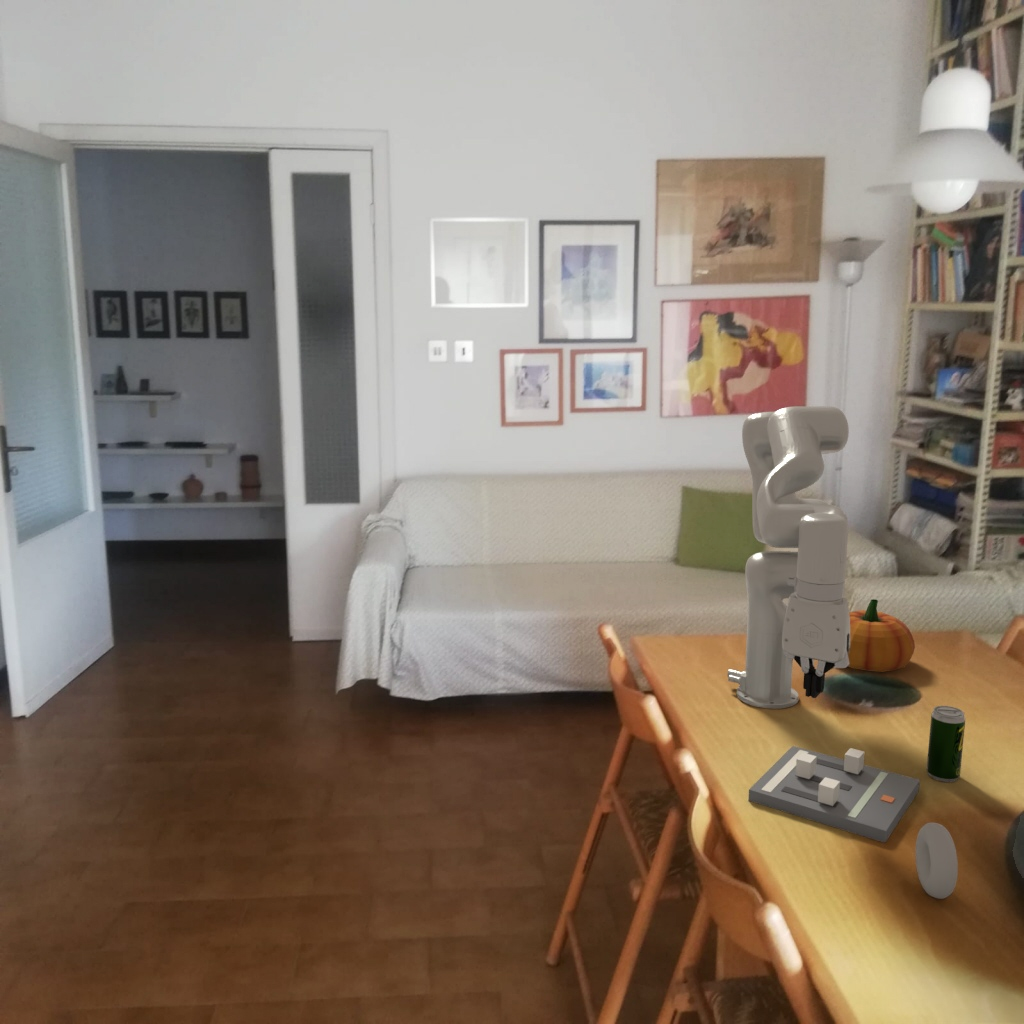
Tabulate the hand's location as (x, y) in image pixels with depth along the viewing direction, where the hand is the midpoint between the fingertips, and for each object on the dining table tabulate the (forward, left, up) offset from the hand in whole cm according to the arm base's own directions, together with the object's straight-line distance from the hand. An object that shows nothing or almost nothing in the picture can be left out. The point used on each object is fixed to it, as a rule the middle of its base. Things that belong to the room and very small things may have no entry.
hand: (813, 694), depth 158 cm
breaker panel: (+5, 0, -17) cm, 18 cm away
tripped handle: (0, 0, -15) cm, 15 cm away
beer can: (+18, +18, -17) cm, 30 cm away
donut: (+25, -19, -17) cm, 36 cm away
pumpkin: (-9, +66, -17) cm, 69 cm away
